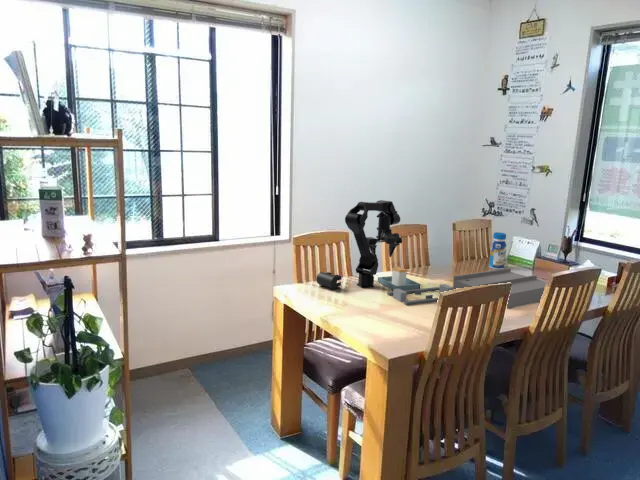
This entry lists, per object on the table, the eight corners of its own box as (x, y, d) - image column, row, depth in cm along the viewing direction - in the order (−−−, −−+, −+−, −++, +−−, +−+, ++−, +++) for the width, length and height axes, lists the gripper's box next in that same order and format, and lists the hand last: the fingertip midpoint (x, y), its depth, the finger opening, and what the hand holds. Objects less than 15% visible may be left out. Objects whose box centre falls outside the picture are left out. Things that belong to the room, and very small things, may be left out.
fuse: (398, 286, 239) (399, 270, 237) (391, 283, 244) (392, 267, 243) (405, 285, 240) (406, 269, 239) (398, 282, 246) (399, 266, 244)
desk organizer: (564, 297, 234) (566, 283, 232) (507, 309, 213) (509, 294, 212) (508, 280, 260) (509, 267, 259) (452, 290, 239) (453, 276, 238)
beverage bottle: (493, 265, 292) (497, 231, 288) (507, 268, 285) (510, 233, 281) (485, 267, 286) (489, 232, 282) (498, 270, 280) (502, 235, 276)
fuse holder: (406, 305, 213) (407, 296, 212) (387, 294, 227) (387, 286, 226) (459, 299, 224) (460, 290, 223) (437, 289, 238) (438, 281, 238)
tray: (395, 291, 232) (396, 286, 232) (377, 282, 247) (377, 277, 247) (420, 289, 238) (420, 284, 237) (401, 280, 252) (401, 275, 252)
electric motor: (315, 286, 236) (316, 272, 235) (326, 284, 241) (327, 270, 240) (330, 291, 229) (331, 277, 228) (341, 288, 234) (342, 274, 233)
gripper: (375, 229, 233) (373, 262, 236) (409, 228, 241) (407, 259, 244) (364, 225, 243) (362, 257, 246) (397, 224, 251) (395, 254, 254)
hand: (382, 257), depth 247 cm, fingers open, 9 cm apart
